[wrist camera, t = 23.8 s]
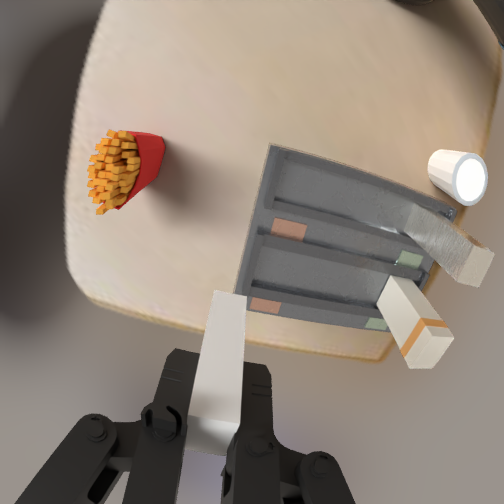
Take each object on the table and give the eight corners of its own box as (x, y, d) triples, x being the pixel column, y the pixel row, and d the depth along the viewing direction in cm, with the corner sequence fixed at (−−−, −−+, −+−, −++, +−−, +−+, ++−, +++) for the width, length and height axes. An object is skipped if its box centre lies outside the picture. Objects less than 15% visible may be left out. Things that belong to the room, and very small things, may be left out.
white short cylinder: (456, 142, 31) (486, 149, 25) (460, 186, 34) (489, 200, 27) (420, 148, 32) (449, 157, 26) (426, 195, 35) (453, 211, 28)
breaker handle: (390, 274, 37) (432, 335, 25) (412, 279, 37) (455, 337, 25) (375, 304, 39) (408, 368, 27) (397, 307, 39) (432, 368, 27)
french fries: (154, 191, 35) (113, 223, 25) (128, 182, 35) (80, 211, 24) (172, 128, 32) (133, 134, 21) (144, 121, 31) (95, 125, 21)
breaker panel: (269, 142, 33) (279, 160, 18) (444, 202, 35) (515, 248, 21) (232, 294, 42) (221, 380, 28) (389, 321, 44) (424, 392, 30)
